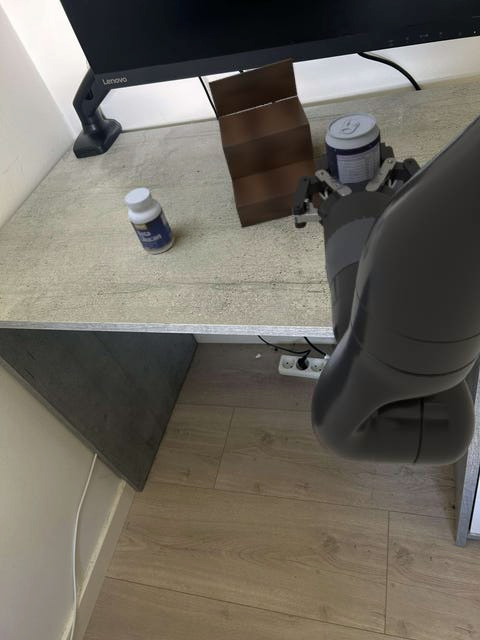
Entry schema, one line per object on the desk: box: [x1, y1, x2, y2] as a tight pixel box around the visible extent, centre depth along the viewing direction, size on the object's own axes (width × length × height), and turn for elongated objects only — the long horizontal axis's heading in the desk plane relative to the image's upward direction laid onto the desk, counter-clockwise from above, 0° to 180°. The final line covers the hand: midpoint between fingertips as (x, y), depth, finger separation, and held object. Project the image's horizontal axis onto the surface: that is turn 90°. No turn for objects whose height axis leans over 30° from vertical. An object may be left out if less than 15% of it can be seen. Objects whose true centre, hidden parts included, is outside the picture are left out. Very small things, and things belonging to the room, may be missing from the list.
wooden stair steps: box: [207, 57, 324, 228], centre depth 79 cm, size 14×19×16 cm
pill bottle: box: [124, 187, 175, 255], centre depth 78 cm, size 5×5×10 cm
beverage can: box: [324, 112, 382, 184], centre depth 55 cm, size 6×6×12 cm
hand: (352, 155), depth 55 cm, fingers closed on beverage can, 5 cm apart
